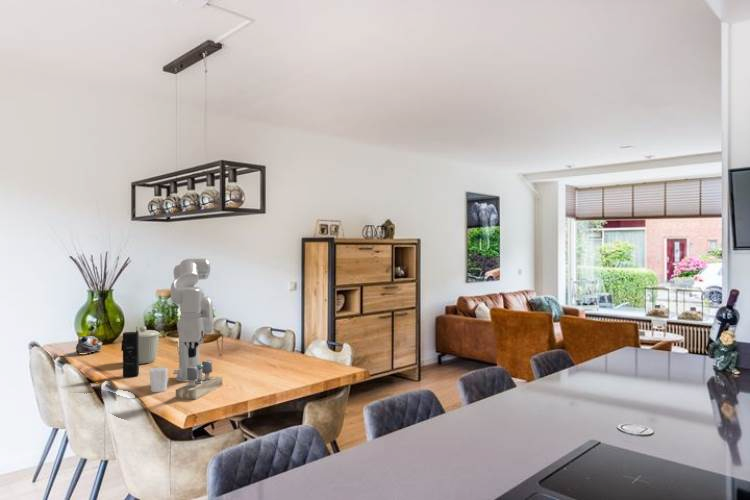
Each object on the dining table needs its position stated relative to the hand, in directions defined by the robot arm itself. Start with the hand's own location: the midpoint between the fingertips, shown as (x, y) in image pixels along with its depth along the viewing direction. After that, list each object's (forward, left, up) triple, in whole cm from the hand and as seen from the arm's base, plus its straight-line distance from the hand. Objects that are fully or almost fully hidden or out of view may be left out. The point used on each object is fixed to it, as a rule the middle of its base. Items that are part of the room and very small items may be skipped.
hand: (192, 356), depth 217 cm
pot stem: (0, +6, -14) cm, 15 cm away
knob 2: (0, +12, -14) cm, 19 cm away
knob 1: (0, 0, -14) cm, 14 cm away
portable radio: (-52, +24, -18) cm, 60 cm away
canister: (-66, +52, -18) cm, 86 cm away
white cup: (-20, +4, -18) cm, 27 cm away
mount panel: (0, +6, -18) cm, 19 cm away
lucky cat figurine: (-118, +69, -18) cm, 138 cm away
